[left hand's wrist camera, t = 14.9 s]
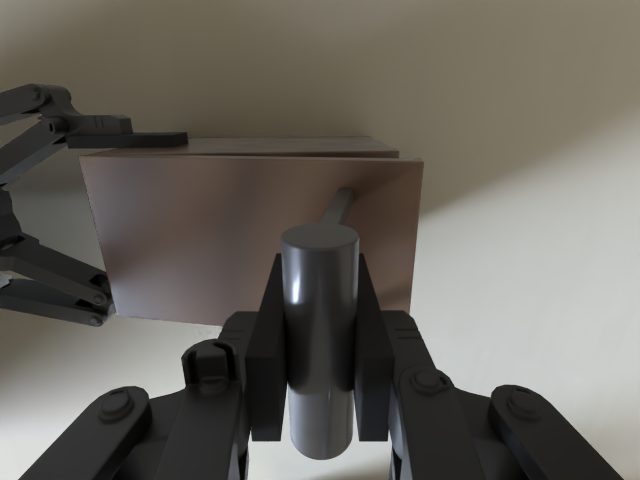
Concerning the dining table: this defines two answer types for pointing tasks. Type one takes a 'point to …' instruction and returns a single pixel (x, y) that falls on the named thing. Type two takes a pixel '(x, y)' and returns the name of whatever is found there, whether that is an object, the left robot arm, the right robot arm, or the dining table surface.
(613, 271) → the dining table surface
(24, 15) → the dining table surface
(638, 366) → the dining table surface
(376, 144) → the chest
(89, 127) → the right robot arm
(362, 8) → the dining table surface
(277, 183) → the panel with cylinder handle
